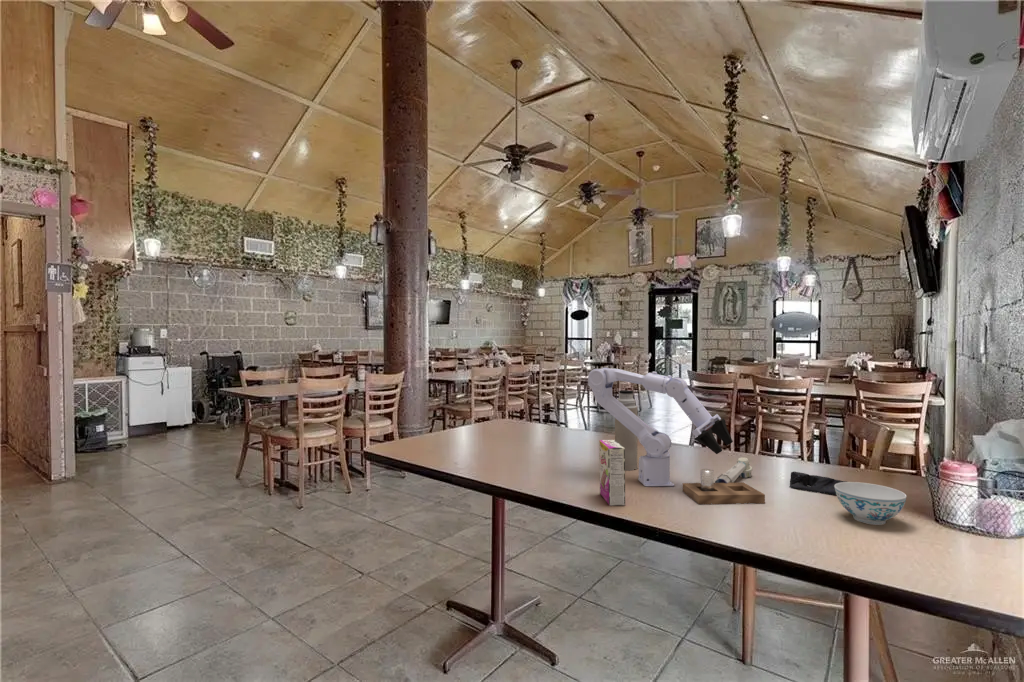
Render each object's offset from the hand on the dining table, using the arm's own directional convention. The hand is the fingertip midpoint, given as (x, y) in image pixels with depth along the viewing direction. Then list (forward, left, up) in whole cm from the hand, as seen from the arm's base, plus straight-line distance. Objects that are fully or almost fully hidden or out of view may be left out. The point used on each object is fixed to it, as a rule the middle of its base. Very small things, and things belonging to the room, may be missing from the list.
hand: (725, 447), depth 150 cm
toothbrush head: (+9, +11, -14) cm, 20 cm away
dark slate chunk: (+35, +2, -14) cm, 37 cm away
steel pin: (-7, -4, -14) cm, 16 cm away
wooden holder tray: (-3, -4, -14) cm, 14 cm away
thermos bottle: (-22, +31, -14) cm, 40 cm away
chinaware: (+26, -24, -14) cm, 38 cm away
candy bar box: (-36, -5, -14) cm, 39 cm away
